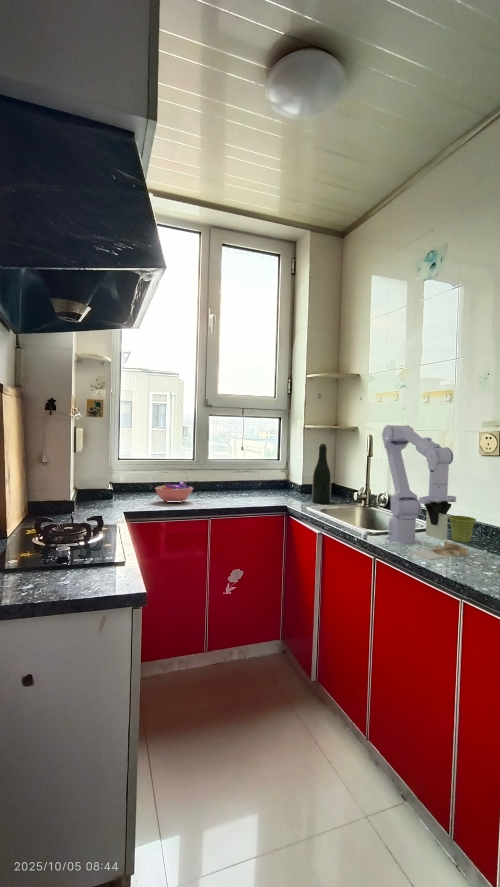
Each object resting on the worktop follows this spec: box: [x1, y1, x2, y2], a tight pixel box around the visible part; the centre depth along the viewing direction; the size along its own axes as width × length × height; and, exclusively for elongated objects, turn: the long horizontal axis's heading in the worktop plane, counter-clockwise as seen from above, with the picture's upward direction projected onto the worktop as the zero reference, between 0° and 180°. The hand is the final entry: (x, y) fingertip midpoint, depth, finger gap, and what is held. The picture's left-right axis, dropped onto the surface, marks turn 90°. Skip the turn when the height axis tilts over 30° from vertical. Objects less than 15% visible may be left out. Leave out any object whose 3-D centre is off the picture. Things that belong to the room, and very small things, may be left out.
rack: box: [435, 541, 469, 557], centre depth 145 cm, size 9×5×2 cm, turn 22°
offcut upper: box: [432, 547, 451, 556], centre depth 143 cm, size 5×3×1 cm, turn 20°
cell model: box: [154, 481, 194, 502], centre depth 227 cm, size 17×20×11 cm
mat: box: [408, 548, 447, 561], centre depth 141 cm, size 9×7×1 cm
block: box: [425, 510, 449, 541], centre depth 142 cm, size 7×2×8 cm, turn 23°
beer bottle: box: [311, 443, 332, 505], centre depth 238 cm, size 10×10×33 cm
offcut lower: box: [430, 550, 453, 557], centre depth 143 cm, size 6×4×1 cm, turn 22°
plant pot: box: [448, 515, 477, 543], centre depth 161 cm, size 9×9×9 cm
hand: (436, 524), depth 142 cm, fingers closed on block, 2 cm apart
